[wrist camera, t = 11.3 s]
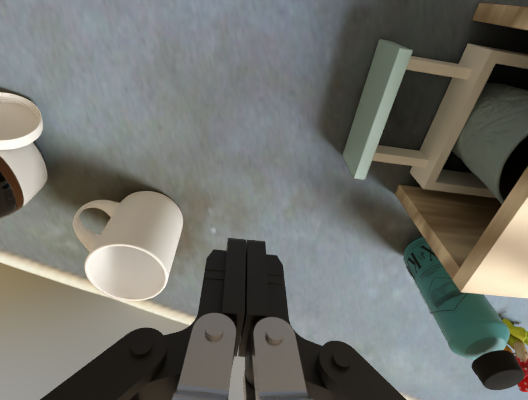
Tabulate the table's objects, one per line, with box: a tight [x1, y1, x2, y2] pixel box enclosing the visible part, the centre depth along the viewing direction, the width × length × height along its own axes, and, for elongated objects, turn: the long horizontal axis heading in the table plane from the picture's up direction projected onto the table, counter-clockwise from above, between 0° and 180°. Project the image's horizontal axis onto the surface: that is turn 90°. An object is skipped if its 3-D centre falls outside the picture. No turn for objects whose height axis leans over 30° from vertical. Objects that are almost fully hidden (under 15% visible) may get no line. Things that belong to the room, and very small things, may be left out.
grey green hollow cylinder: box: [452, 83, 528, 204], centre depth 33 cm, size 10×10×12 cm
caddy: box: [343, 39, 528, 198], centre depth 36 cm, size 15×24×6 cm, turn 81°
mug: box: [73, 191, 183, 301], centre depth 39 cm, size 9×12×11 cm
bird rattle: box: [502, 319, 528, 392], centre depth 57 cm, size 6×11×9 cm
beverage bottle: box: [404, 237, 525, 390], centre depth 40 cm, size 6×7×20 cm
